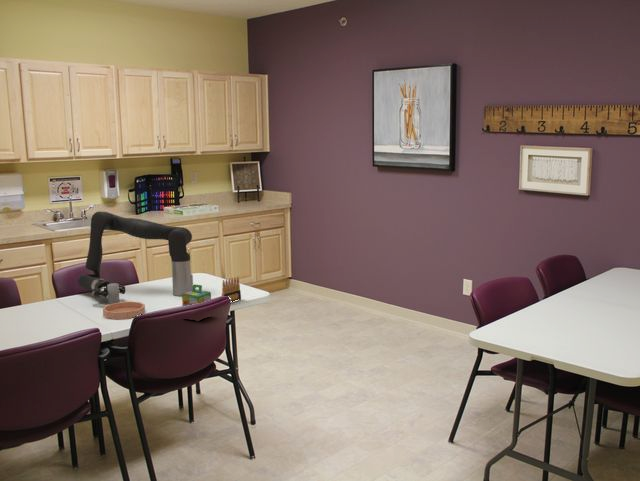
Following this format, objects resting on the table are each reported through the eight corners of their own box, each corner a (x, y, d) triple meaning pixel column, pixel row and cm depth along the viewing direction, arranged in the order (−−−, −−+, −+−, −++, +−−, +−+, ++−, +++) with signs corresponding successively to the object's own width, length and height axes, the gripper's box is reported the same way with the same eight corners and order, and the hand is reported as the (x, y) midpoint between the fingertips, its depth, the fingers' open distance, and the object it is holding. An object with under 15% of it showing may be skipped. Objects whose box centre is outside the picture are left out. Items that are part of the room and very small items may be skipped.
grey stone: (117, 303, 297) (115, 282, 295) (121, 305, 293) (120, 284, 292) (107, 305, 294) (105, 284, 292) (111, 307, 290) (109, 286, 289)
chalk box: (182, 319, 270) (180, 286, 267) (195, 314, 278) (194, 281, 275) (199, 322, 266) (197, 288, 263) (212, 316, 274) (211, 284, 271)
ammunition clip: (224, 305, 292) (223, 280, 290) (221, 304, 293) (220, 279, 291) (241, 300, 300) (240, 276, 298) (238, 299, 301) (237, 275, 299)
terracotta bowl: (134, 305, 292) (134, 299, 292) (151, 313, 279) (151, 307, 278) (97, 312, 281) (97, 306, 281) (113, 321, 268) (112, 315, 267)
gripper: (86, 282, 298) (99, 288, 286) (115, 277, 307) (129, 283, 295) (87, 297, 300) (100, 304, 287) (116, 292, 309) (130, 298, 296)
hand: (115, 293), depth 291 cm, fingers open, 8 cm apart
